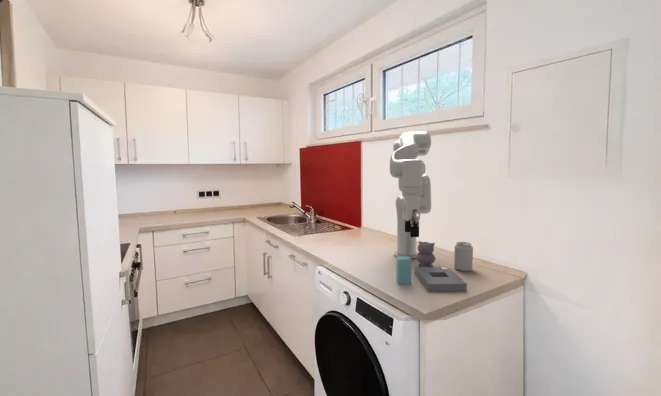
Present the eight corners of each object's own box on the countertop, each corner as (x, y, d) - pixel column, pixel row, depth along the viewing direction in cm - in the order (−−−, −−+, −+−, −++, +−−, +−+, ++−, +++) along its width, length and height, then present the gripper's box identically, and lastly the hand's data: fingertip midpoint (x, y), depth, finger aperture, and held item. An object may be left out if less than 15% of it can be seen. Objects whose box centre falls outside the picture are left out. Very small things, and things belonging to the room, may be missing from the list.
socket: (414, 273, 137) (414, 265, 136) (447, 273, 136) (447, 265, 136) (428, 291, 117) (428, 282, 116) (466, 291, 116) (466, 282, 116)
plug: (396, 280, 129) (396, 256, 128) (408, 280, 129) (408, 256, 128) (398, 284, 125) (398, 259, 124) (411, 284, 125) (411, 259, 124)
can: (457, 265, 147) (457, 240, 145) (474, 268, 142) (475, 242, 141) (451, 269, 141) (452, 243, 140) (469, 273, 136) (470, 246, 135)
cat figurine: (412, 267, 144) (413, 242, 143) (420, 263, 150) (420, 239, 149) (430, 271, 139) (431, 245, 138) (438, 267, 145) (438, 241, 143)
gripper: (398, 190, 132) (397, 230, 133) (407, 192, 115) (406, 239, 116) (416, 189, 132) (415, 230, 133) (427, 192, 115) (427, 239, 116)
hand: (411, 234), depth 125 cm, fingers open, 9 cm apart
